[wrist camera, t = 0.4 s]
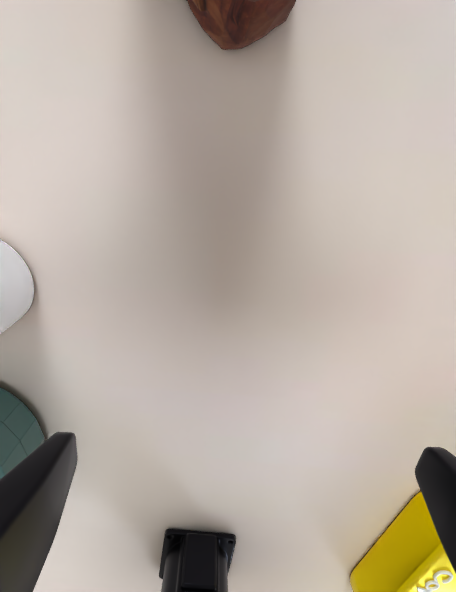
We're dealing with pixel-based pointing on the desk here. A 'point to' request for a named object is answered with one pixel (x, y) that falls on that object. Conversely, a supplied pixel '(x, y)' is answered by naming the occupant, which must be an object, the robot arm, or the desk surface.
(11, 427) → the bowl
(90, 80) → the desk surface
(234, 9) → the wooden figurine
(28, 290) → the can
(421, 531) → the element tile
